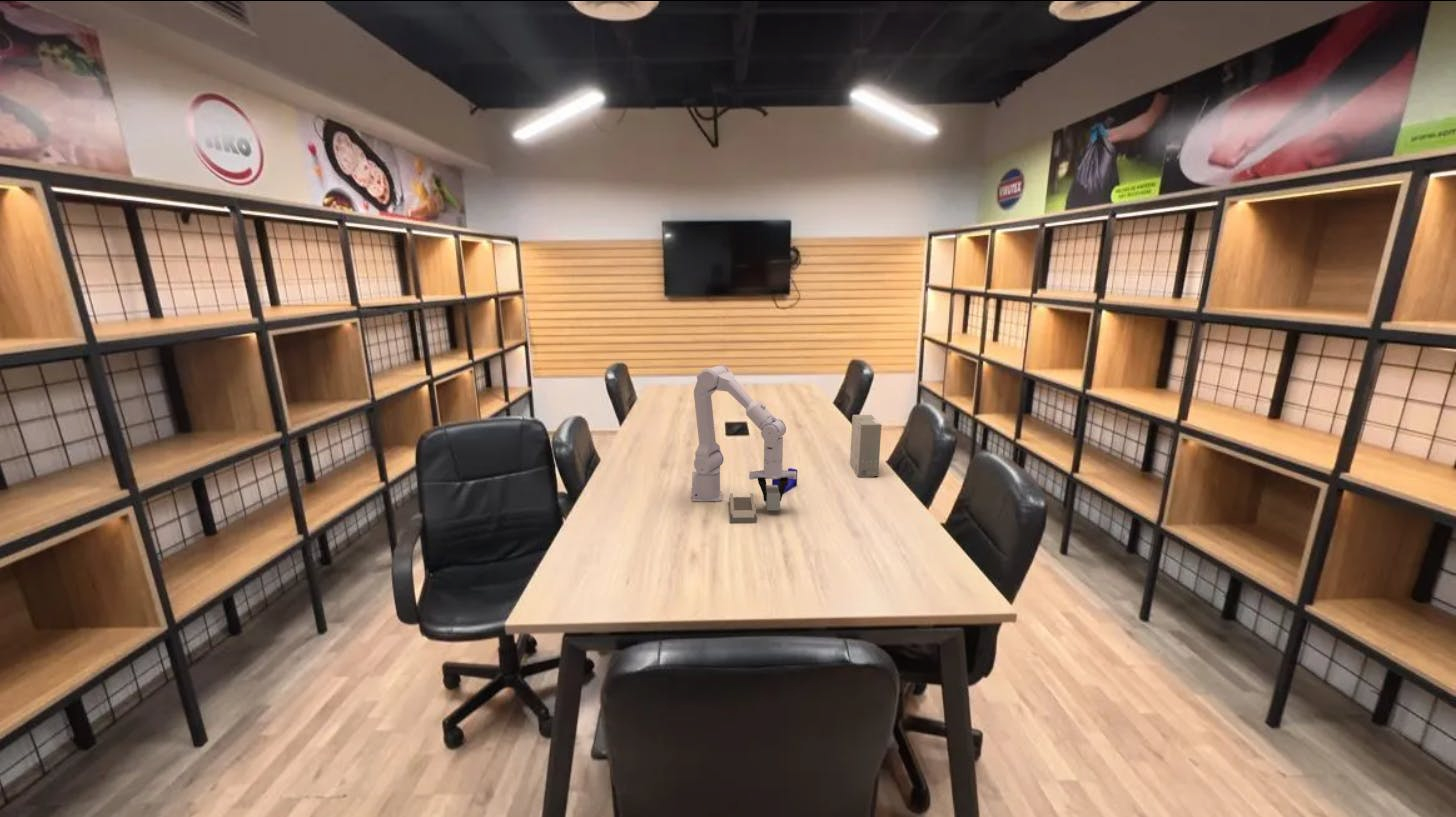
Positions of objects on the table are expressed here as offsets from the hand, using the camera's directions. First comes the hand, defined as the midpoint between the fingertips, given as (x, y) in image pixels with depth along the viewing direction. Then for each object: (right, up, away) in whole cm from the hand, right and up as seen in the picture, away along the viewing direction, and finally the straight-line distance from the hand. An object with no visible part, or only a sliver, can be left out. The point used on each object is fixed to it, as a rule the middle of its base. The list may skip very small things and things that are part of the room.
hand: (772, 500), depth 174 cm
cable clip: (+5, +1, +18) cm, 18 cm away
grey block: (0, -2, 0) cm, 2 cm away
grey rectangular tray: (-9, -4, 0) cm, 10 cm away
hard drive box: (+37, +5, +36) cm, 52 cm away
